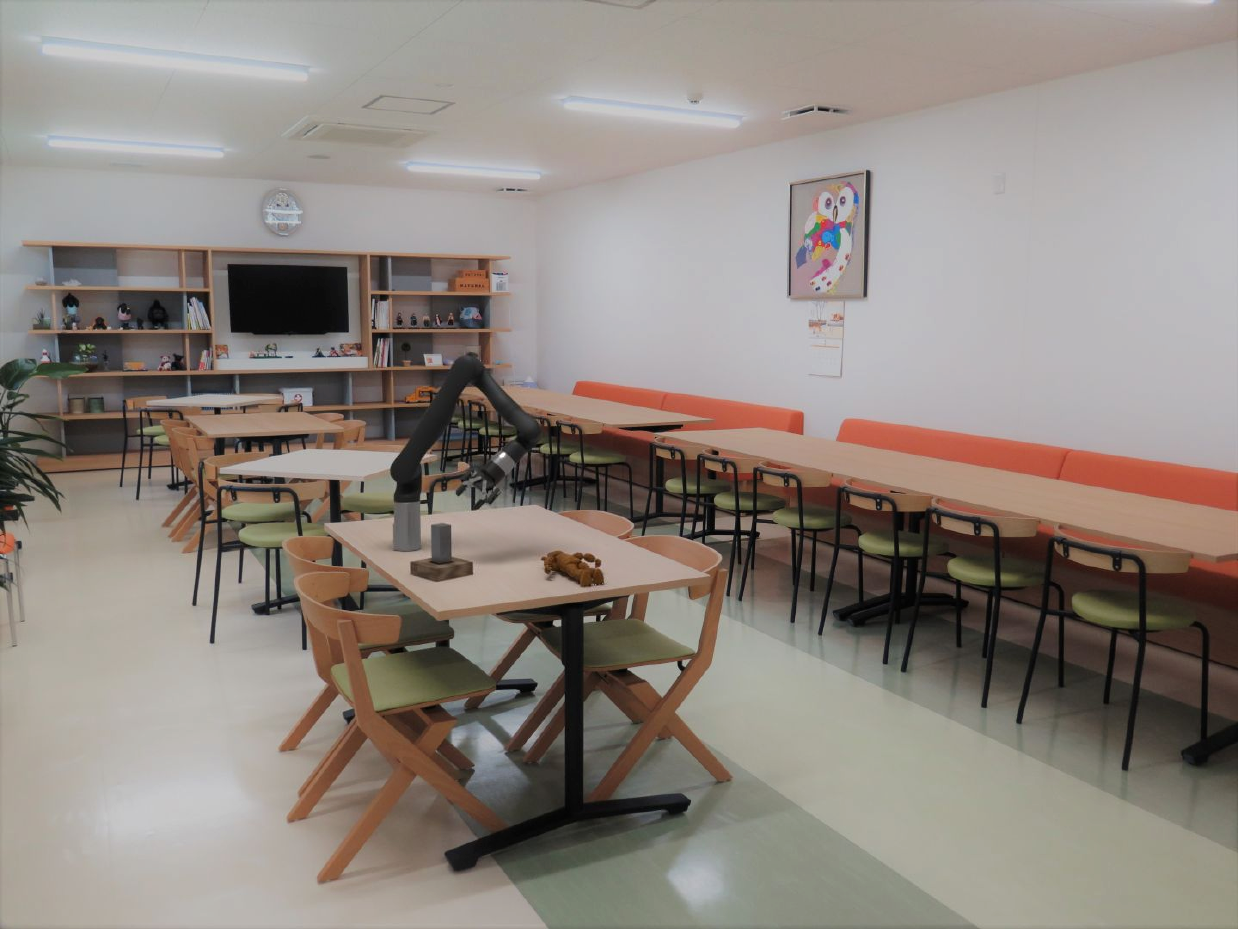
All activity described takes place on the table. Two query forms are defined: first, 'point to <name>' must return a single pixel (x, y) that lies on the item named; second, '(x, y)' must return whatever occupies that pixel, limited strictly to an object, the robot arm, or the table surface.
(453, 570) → the wooden block with hole
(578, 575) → the toy
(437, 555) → the post
